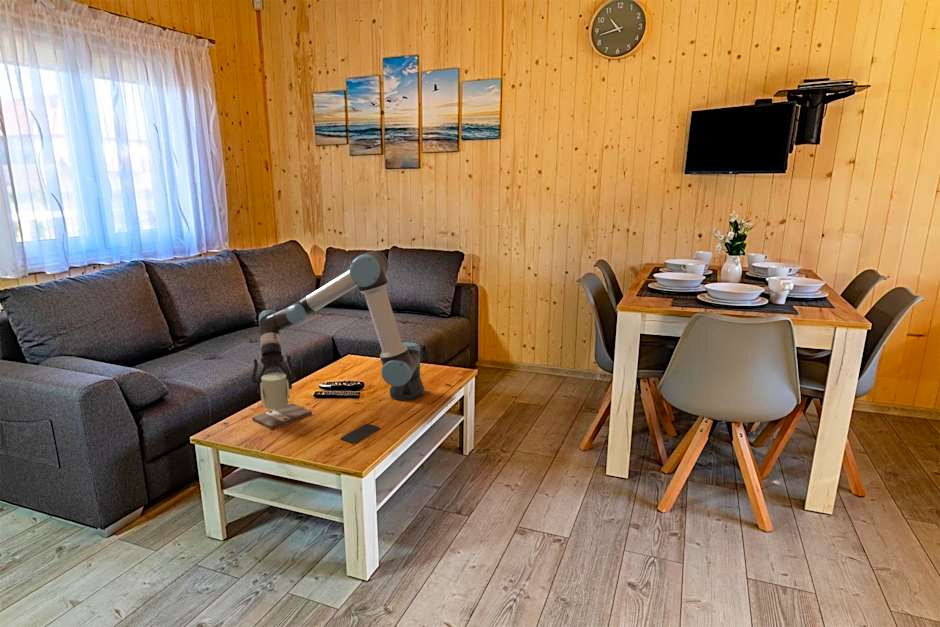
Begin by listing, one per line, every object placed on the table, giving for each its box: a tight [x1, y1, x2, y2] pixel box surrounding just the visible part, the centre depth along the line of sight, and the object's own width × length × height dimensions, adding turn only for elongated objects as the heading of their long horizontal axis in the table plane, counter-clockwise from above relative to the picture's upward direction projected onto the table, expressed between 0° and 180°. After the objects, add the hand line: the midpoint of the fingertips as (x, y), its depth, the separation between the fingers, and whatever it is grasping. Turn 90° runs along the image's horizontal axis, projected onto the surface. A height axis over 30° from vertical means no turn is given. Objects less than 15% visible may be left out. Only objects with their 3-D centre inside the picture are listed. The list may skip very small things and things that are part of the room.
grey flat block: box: [251, 402, 313, 430], centre depth 219 cm, size 13×18×2 cm
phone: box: [340, 423, 381, 444], centre depth 205 cm, size 7×1×15 cm
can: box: [261, 371, 289, 410], centre depth 215 cm, size 9×9×12 cm
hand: (275, 398), depth 212 cm, fingers closed on can, 9 cm apart
